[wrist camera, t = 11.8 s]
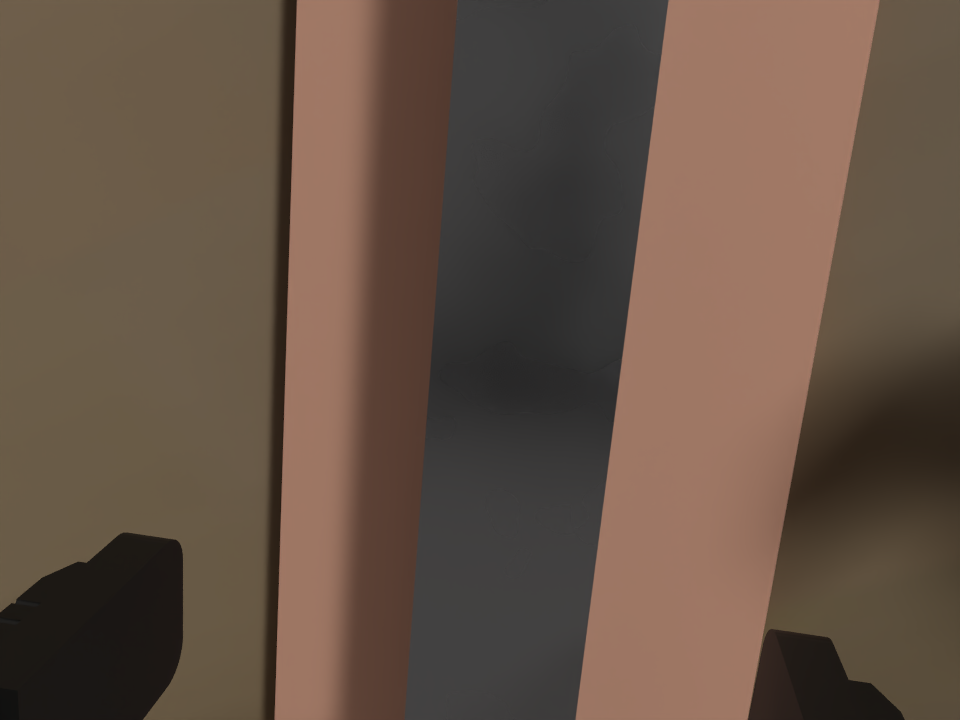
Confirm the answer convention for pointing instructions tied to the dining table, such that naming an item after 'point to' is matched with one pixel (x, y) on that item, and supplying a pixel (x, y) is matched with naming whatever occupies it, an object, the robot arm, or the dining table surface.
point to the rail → (527, 347)
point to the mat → (645, 363)
